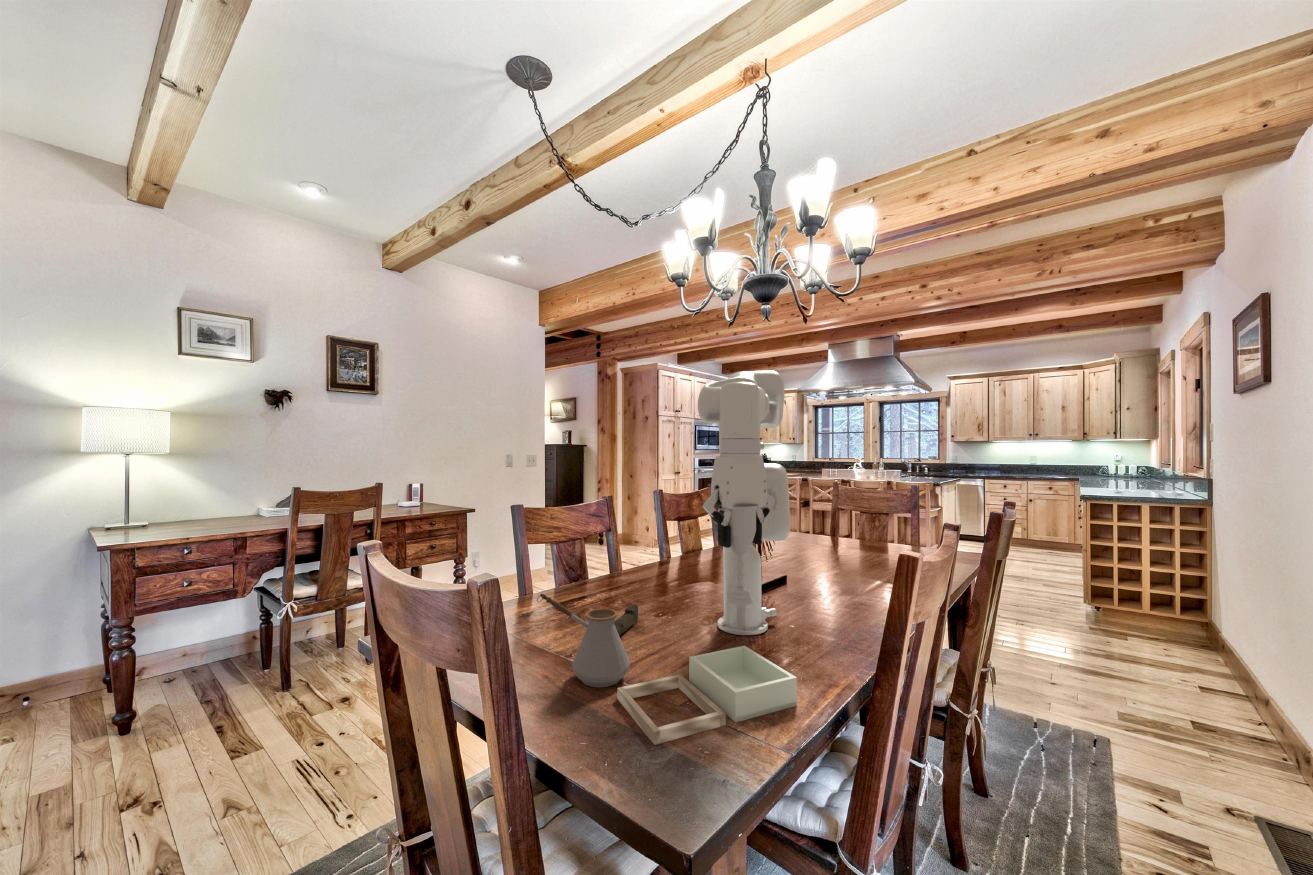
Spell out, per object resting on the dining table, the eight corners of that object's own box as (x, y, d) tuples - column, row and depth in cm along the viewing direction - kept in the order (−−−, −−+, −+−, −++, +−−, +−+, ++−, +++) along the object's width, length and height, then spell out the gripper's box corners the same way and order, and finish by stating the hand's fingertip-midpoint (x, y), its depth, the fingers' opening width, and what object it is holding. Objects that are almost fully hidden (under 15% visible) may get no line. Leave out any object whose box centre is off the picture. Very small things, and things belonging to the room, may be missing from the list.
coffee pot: (640, 672, 105) (640, 598, 105) (611, 697, 95) (611, 615, 95) (555, 653, 115) (555, 586, 115) (520, 674, 104) (520, 600, 104)
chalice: (750, 609, 91) (749, 507, 92) (715, 602, 95) (715, 505, 95) (764, 598, 98) (764, 503, 98) (731, 593, 101) (731, 501, 101)
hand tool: (613, 647, 119) (613, 626, 119) (598, 644, 121) (598, 624, 121) (647, 621, 136) (647, 603, 136) (633, 619, 138) (633, 601, 138)
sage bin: (744, 669, 106) (744, 645, 106) (796, 705, 92) (796, 677, 92) (689, 682, 101) (689, 656, 101) (735, 722, 86) (735, 692, 86)
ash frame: (680, 684, 100) (680, 674, 100) (725, 725, 85) (725, 713, 85) (617, 698, 94) (617, 687, 94) (654, 744, 80) (654, 731, 80)
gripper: (764, 448, 104) (765, 537, 104) (689, 448, 96) (689, 545, 96) (789, 448, 97) (790, 544, 97) (710, 449, 90) (710, 552, 89)
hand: (740, 543), depth 96 cm, fingers closed on chalice, 6 cm apart
